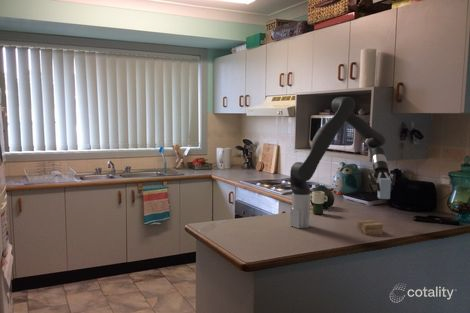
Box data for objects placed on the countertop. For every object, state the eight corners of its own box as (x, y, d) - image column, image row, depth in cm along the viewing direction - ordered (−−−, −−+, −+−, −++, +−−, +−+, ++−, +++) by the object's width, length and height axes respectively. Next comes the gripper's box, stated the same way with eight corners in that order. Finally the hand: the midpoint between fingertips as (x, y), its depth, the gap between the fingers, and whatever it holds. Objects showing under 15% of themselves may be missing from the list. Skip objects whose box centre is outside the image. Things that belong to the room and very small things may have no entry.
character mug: (328, 213, 242) (329, 192, 241) (325, 216, 236) (325, 193, 235) (311, 211, 247) (311, 190, 246) (307, 214, 241) (307, 192, 240)
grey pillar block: (389, 199, 209) (390, 179, 208) (379, 198, 209) (380, 179, 208) (387, 197, 214) (388, 178, 213) (377, 196, 214) (378, 177, 213)
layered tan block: (382, 234, 200) (382, 224, 199) (365, 235, 198) (365, 225, 198) (373, 229, 208) (373, 220, 208) (356, 230, 207) (356, 220, 206)
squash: (324, 203, 246) (332, 182, 253) (303, 200, 256) (311, 181, 263) (333, 215, 255) (340, 195, 262) (312, 212, 265) (319, 193, 271)
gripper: (367, 159, 218) (371, 186, 207) (395, 160, 217) (401, 186, 206) (364, 168, 224) (369, 194, 213) (392, 169, 222) (397, 195, 211)
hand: (384, 190), depth 209 cm, fingers closed on grey pillar block, 5 cm apart
